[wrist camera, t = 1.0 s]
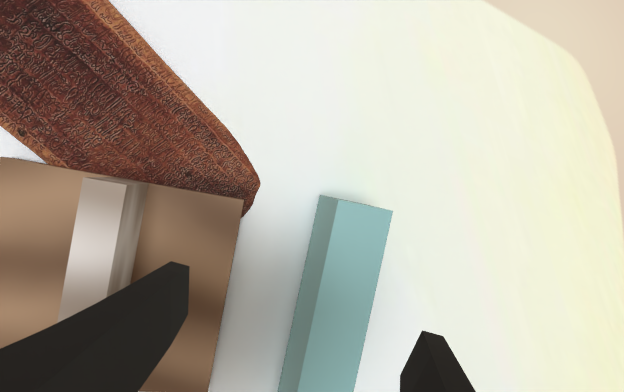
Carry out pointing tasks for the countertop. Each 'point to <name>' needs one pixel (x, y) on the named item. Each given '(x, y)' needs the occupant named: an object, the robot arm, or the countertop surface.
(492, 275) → the countertop surface
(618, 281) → the countertop surface
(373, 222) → the teal rectangular bar
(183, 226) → the ridge
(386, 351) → the countertop surface
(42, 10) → the wooden tablet
